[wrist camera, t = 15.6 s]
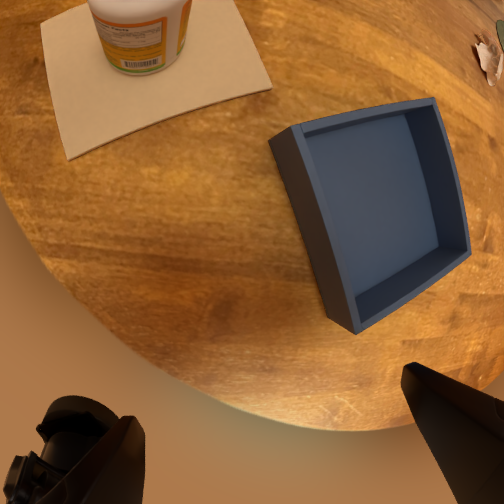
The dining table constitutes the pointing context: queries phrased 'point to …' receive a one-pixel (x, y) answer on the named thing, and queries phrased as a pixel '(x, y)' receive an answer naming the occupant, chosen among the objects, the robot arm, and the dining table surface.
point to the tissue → (490, 57)
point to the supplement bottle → (141, 32)
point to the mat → (145, 86)
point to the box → (375, 206)
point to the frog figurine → (501, 31)
